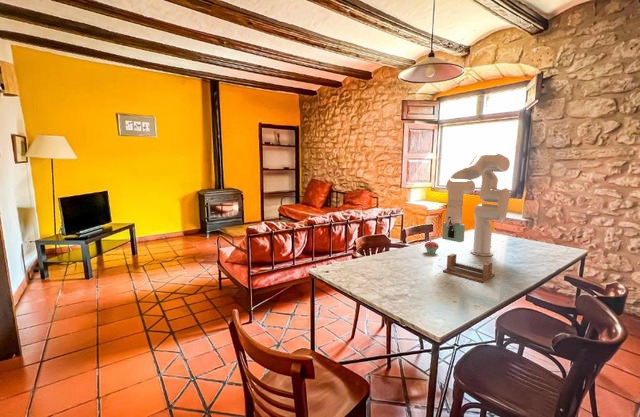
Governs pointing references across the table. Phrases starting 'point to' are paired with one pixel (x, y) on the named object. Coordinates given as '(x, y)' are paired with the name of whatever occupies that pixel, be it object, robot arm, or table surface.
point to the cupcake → (431, 247)
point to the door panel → (457, 232)
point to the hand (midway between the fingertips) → (453, 236)
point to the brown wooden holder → (468, 270)
